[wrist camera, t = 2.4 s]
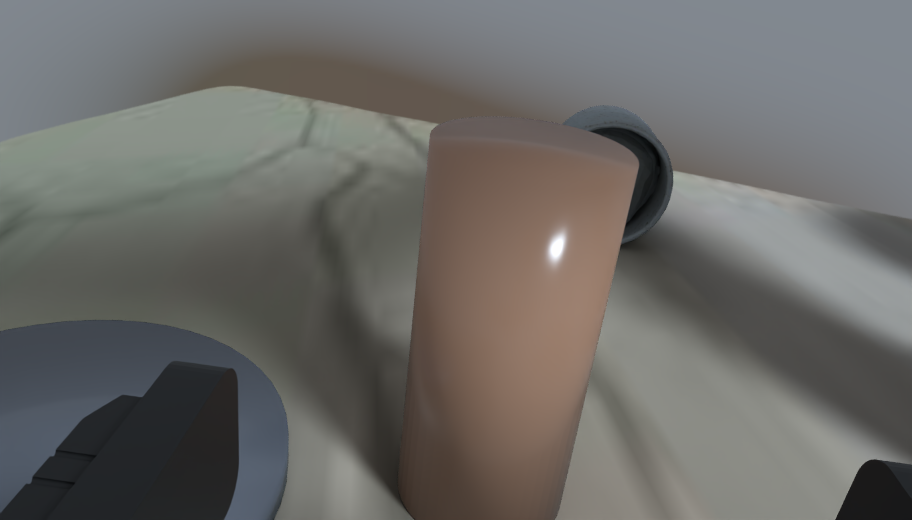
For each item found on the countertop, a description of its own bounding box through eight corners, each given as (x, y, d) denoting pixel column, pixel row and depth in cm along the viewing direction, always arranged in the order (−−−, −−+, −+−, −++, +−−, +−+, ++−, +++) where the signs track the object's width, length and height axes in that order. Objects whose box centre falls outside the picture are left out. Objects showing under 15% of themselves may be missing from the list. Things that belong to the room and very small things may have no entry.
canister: (519, 419, 28) (575, 117, 22) (590, 529, 23) (682, 180, 18) (379, 441, 26) (404, 115, 20) (426, 566, 21) (474, 186, 16)
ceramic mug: (643, 207, 50) (666, 99, 47) (658, 255, 43) (687, 132, 40) (494, 188, 51) (507, 80, 48) (484, 232, 44) (498, 109, 41)
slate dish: (261, 329, 31) (261, 305, 31) (326, 627, 19) (327, 596, 18) (-161, 368, 26) (-170, 340, 26) (-453, 816, 14) (-482, 780, 13)
